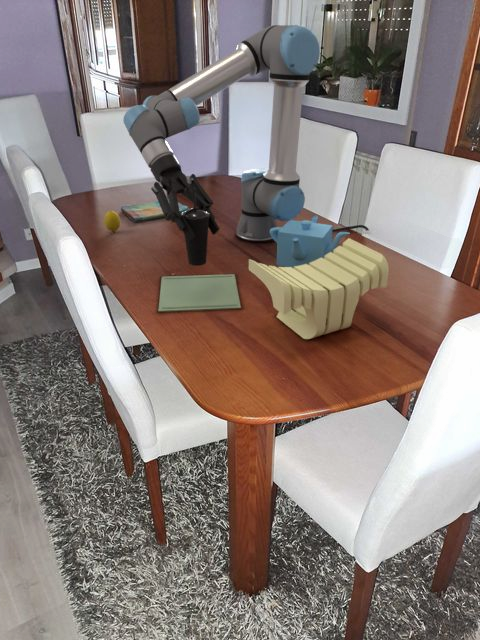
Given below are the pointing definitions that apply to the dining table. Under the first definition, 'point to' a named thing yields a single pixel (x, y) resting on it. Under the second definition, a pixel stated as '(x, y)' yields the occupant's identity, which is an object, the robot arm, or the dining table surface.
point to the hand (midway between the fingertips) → (204, 235)
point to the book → (147, 211)
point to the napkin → (198, 293)
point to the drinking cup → (197, 233)
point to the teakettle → (303, 242)
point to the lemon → (112, 221)
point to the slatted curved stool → (323, 288)
